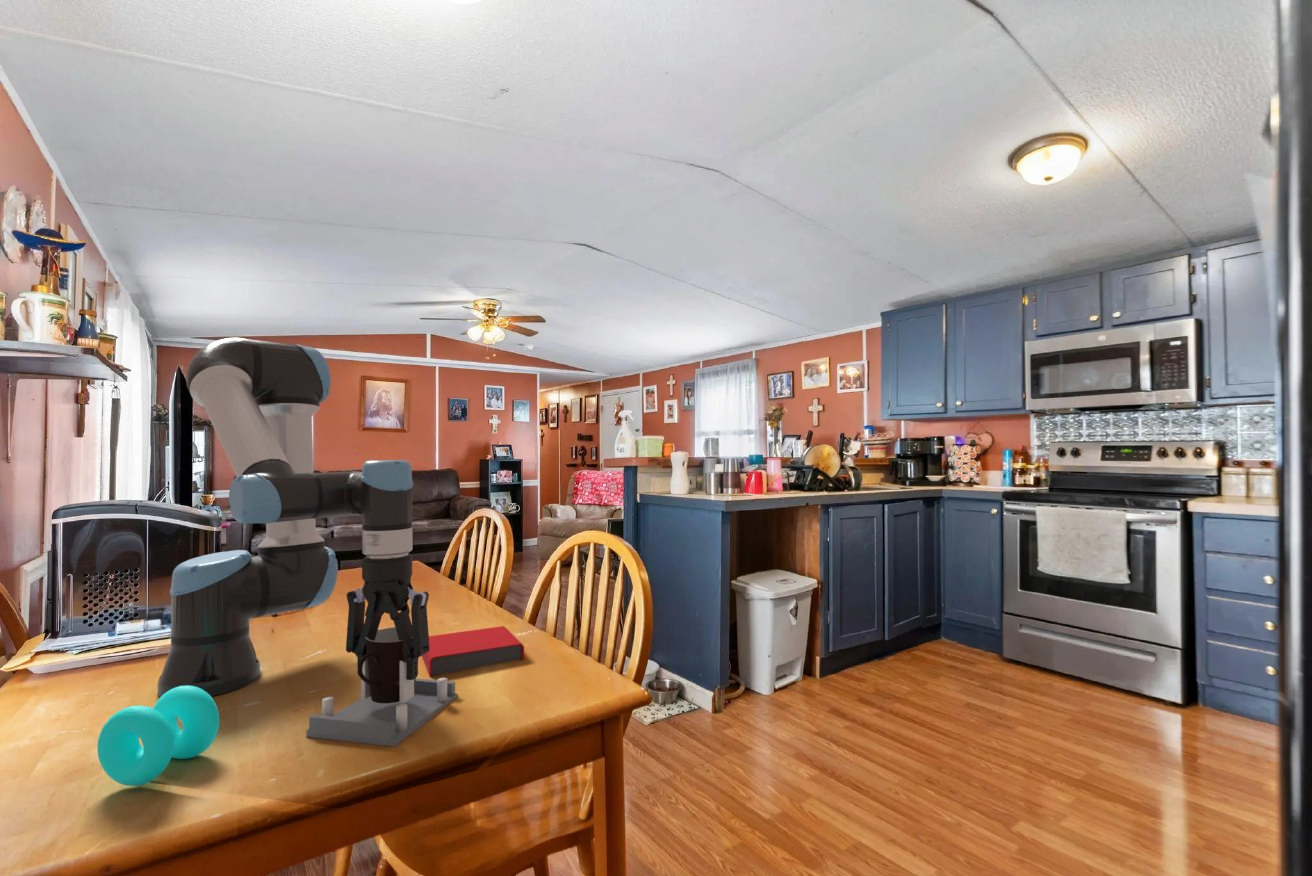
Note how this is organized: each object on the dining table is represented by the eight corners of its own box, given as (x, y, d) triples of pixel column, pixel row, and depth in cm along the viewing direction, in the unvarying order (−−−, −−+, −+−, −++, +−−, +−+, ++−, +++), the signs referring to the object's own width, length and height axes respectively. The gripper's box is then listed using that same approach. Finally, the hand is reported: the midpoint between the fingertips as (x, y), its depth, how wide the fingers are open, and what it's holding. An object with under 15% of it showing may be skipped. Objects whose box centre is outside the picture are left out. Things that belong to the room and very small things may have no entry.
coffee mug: (404, 681, 107) (405, 623, 107) (430, 694, 101) (432, 633, 102) (334, 701, 98) (336, 638, 98) (359, 717, 92) (361, 650, 93)
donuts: (90, 787, 79) (91, 709, 79) (164, 749, 89) (164, 680, 89) (157, 793, 78) (158, 713, 78) (224, 754, 88) (225, 684, 88)
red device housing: (506, 648, 135) (506, 625, 135) (524, 668, 123) (524, 643, 123) (420, 661, 127) (420, 637, 127) (429, 684, 114) (429, 657, 114)
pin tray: (306, 736, 93) (306, 706, 93) (381, 692, 110) (381, 667, 110) (394, 746, 89) (394, 715, 90) (457, 699, 106) (457, 673, 107)
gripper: (319, 556, 99) (319, 702, 98) (427, 560, 94) (427, 711, 94) (352, 549, 106) (352, 684, 105) (453, 552, 102) (453, 692, 101)
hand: (387, 697), depth 100 cm, fingers closed on coffee mug, 6 cm apart
